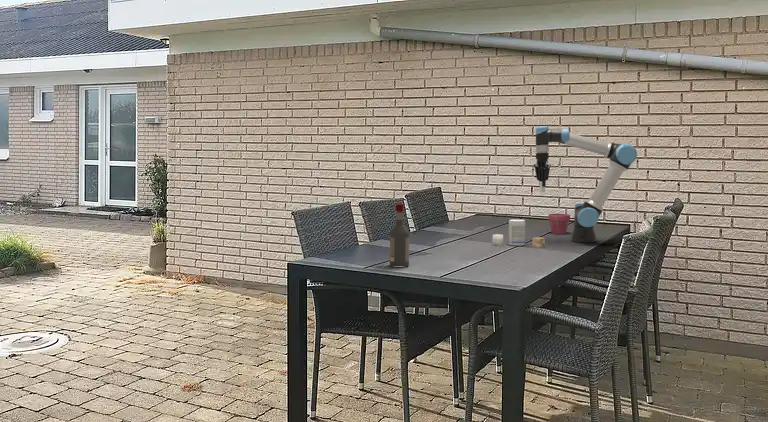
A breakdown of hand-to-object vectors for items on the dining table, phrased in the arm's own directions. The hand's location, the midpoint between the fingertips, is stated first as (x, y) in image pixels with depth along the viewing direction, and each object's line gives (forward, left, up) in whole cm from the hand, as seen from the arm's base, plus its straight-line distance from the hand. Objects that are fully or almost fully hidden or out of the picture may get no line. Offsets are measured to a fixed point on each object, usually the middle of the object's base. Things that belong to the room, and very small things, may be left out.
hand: (542, 192), depth 426 cm
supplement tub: (+19, +1, -31) cm, 36 cm away
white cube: (+29, -4, -31) cm, 42 cm away
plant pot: (-39, -31, -31) cm, 59 cm away
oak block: (+11, +11, -31) cm, 34 cm away
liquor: (+115, +36, -31) cm, 124 cm away
